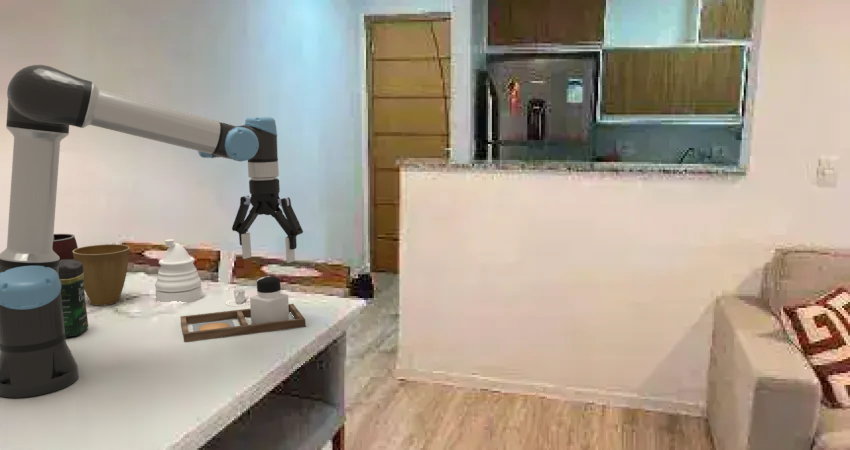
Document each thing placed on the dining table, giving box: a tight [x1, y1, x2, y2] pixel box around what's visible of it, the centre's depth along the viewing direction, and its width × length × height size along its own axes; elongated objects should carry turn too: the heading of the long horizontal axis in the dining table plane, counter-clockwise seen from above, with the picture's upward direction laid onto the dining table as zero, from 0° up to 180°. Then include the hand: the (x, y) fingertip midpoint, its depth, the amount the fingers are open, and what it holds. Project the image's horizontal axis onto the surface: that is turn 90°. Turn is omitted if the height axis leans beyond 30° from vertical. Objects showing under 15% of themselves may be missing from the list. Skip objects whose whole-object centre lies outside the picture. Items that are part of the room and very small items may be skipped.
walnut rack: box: [179, 303, 306, 343], centre depth 174 cm, size 15×30×2 cm, turn 112°
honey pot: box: [154, 238, 203, 304], centre depth 198 cm, size 13×13×18 cm
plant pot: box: [73, 243, 131, 306], centre depth 195 cm, size 15×15×16 cm
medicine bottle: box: [249, 275, 290, 324], centre depth 176 cm, size 7×7×12 cm
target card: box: [191, 319, 235, 331], centre depth 171 cm, size 10×10×1 cm
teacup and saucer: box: [225, 288, 250, 307], centre depth 195 cm, size 9×8×4 cm
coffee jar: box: [58, 259, 89, 339], centre depth 167 cm, size 10×8×19 cm
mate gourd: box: [53, 233, 79, 261], centre depth 207 cm, size 16×14×20 cm
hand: (268, 259), depth 174 cm, fingers open, 13 cm apart
